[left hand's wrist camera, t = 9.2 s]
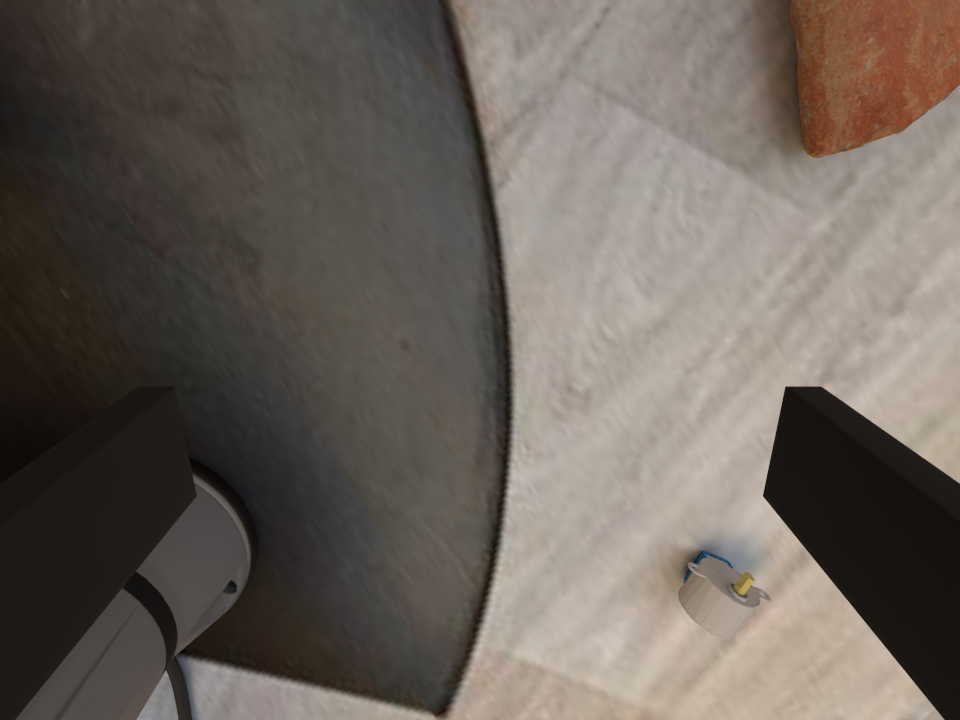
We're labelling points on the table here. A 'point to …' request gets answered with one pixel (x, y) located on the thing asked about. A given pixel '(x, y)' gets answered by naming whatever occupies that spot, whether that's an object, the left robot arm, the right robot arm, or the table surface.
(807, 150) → the ceramic shard
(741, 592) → the electric motor
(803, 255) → the table surface
